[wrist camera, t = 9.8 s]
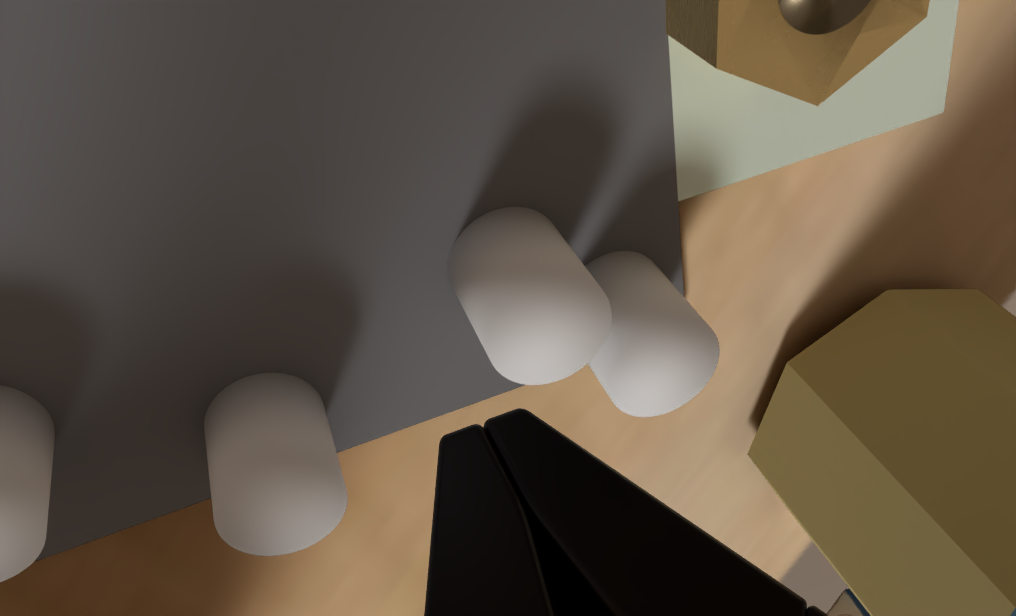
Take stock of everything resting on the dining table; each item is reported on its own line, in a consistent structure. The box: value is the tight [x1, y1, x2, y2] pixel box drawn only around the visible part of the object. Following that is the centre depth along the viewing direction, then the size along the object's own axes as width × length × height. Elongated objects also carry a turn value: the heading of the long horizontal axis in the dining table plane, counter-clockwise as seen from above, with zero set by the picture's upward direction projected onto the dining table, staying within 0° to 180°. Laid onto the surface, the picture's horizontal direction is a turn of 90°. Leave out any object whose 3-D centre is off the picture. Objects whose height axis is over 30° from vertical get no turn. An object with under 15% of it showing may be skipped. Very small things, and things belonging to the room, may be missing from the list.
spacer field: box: [0, 0, 720, 582], centre depth 16 cm, size 20×19×4 cm
